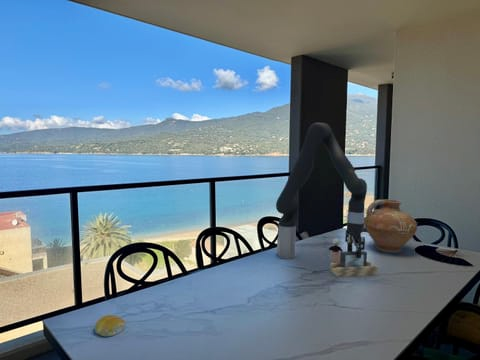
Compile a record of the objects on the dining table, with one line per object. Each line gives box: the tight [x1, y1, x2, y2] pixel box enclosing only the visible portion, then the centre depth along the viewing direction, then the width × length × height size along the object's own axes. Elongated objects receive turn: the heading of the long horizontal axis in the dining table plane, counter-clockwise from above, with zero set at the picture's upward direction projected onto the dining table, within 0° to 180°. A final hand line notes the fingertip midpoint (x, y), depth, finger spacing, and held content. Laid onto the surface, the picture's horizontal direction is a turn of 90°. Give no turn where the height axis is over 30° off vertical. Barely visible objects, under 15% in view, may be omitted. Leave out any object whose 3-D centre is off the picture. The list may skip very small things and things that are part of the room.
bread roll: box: [94, 314, 126, 338], centre depth 101 cm, size 8×9×4 cm
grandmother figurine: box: [327, 238, 344, 263], centre depth 164 cm, size 8×4×13 cm, turn 84°
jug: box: [364, 199, 418, 254], centre depth 186 cm, size 28×28×30 cm
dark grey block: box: [339, 250, 368, 267], centre depth 151 cm, size 12×3×8 cm, turn 98°
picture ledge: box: [329, 261, 379, 278], centre depth 151 cm, size 20×8×4 cm, turn 98°
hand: (353, 255), depth 151 cm, fingers open, 8 cm apart
